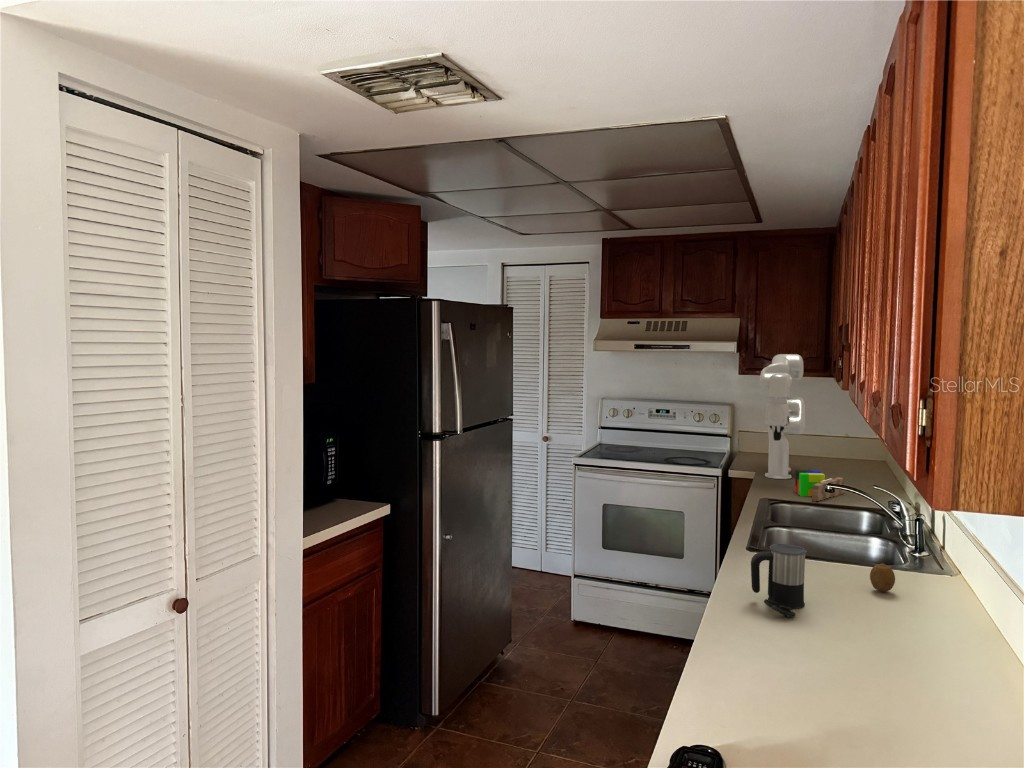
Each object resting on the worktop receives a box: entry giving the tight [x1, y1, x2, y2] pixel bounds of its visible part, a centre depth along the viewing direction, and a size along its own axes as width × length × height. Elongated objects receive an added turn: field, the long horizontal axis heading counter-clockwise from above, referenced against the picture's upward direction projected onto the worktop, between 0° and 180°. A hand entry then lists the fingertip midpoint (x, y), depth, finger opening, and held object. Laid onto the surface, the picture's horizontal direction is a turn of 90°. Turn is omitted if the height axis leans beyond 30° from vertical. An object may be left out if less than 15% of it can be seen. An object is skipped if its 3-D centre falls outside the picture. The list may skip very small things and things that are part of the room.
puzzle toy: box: [794, 469, 826, 497], centre depth 320 cm, size 10×10×10 cm
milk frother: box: [750, 543, 808, 618], centre depth 185 cm, size 14×16×15 cm
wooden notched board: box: [811, 476, 845, 502], centre depth 314 cm, size 26×2×8 cm, turn 132°
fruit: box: [869, 563, 896, 593], centre depth 197 cm, size 6×6×8 cm
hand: (777, 440), depth 331 cm, fingers closed
